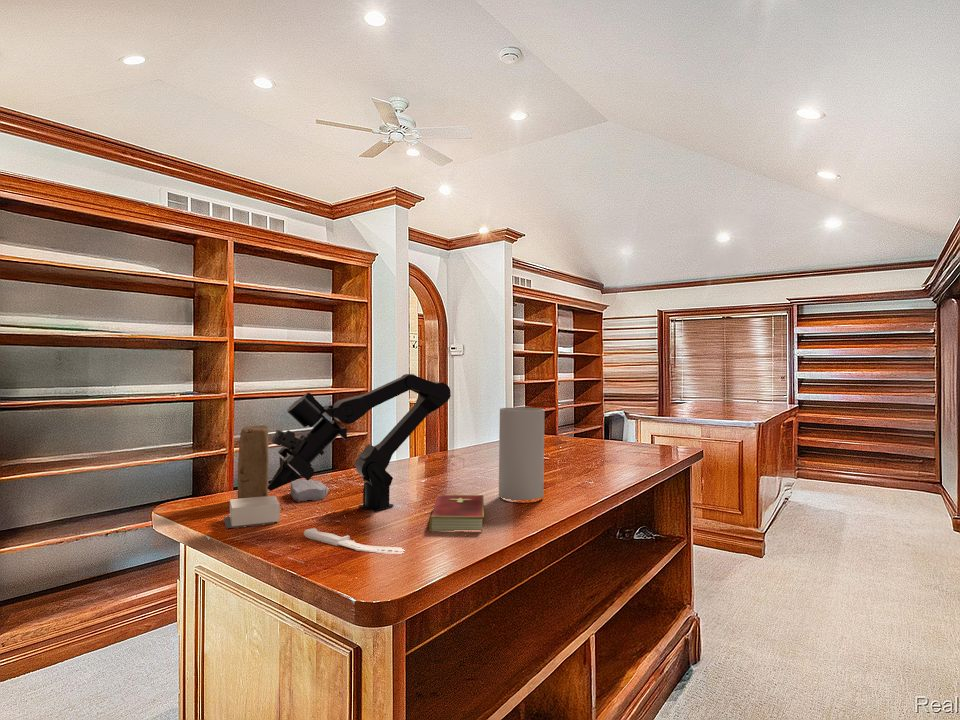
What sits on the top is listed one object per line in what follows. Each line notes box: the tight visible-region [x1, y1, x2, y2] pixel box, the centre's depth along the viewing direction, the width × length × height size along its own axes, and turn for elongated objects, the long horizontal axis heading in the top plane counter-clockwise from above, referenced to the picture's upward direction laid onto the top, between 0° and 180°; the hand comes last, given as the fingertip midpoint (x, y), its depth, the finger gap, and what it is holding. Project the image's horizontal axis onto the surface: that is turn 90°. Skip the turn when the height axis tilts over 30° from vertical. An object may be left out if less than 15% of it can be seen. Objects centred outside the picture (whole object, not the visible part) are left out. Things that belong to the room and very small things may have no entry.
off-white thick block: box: [229, 495, 281, 526], centre depth 127 cm, size 4×9×10 cm
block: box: [237, 425, 270, 499], centre depth 145 cm, size 11×8×20 cm
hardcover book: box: [429, 494, 485, 532], centre depth 130 cm, size 12×21×4 cm, turn 0°
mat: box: [223, 515, 275, 530], centre depth 126 cm, size 10×10×1 cm
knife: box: [303, 527, 406, 555], centre depth 111 cm, size 30×2×8 cm
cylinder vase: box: [498, 407, 545, 500], centre depth 153 cm, size 12×12×25 cm
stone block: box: [289, 478, 329, 502], centre depth 152 cm, size 12×5×10 cm
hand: (268, 489), depth 128 cm, fingers closed
